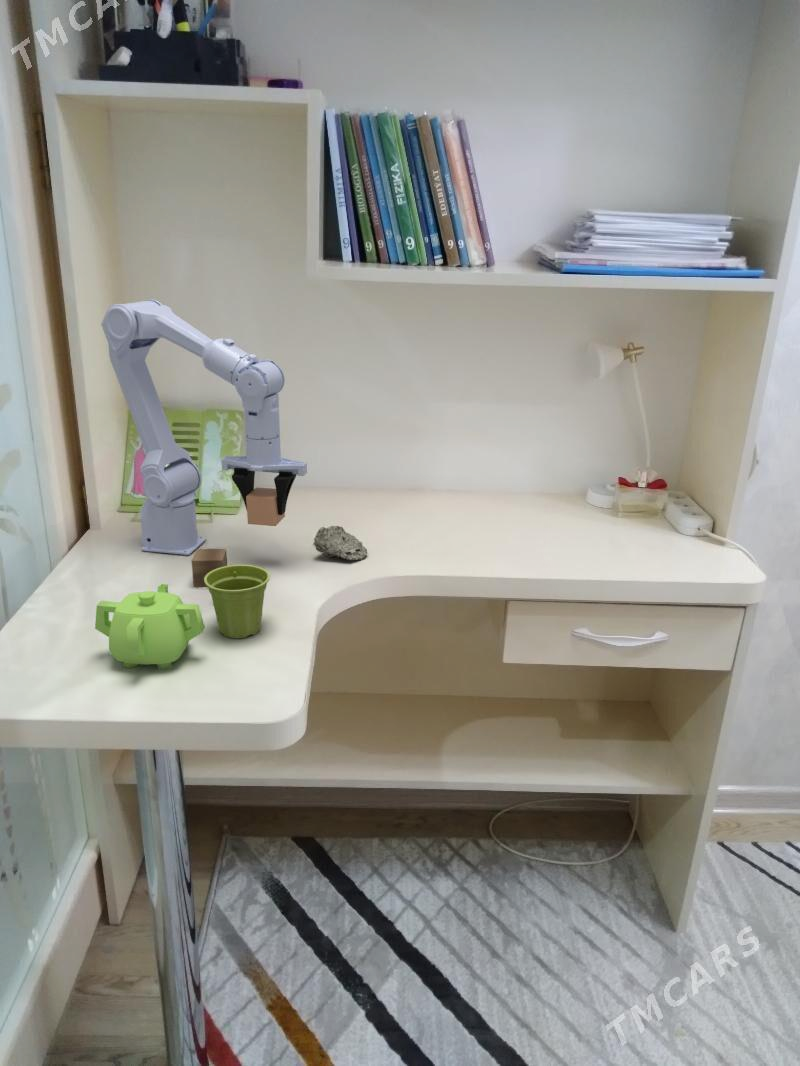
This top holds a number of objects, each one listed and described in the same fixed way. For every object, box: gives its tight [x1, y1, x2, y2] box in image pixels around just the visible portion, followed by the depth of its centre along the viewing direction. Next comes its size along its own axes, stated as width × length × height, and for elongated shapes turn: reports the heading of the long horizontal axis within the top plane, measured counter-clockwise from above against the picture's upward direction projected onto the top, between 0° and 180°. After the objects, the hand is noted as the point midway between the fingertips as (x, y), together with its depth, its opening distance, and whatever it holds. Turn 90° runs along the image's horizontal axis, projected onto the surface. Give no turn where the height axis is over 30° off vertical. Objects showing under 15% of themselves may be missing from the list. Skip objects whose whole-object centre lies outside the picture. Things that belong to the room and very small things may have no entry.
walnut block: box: [191, 548, 228, 589], centre depth 138 cm, size 5×5×5 cm
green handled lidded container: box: [94, 583, 206, 670], centre depth 114 cm, size 12×11×10 cm
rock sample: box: [312, 525, 368, 561], centre depth 150 cm, size 10×8×9 cm
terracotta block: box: [246, 486, 286, 527], centre depth 142 cm, size 5×5×5 cm
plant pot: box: [204, 564, 271, 639], centre depth 122 cm, size 9×9×9 cm
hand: (266, 511), depth 143 cm, fingers closed on terracotta block, 5 cm apart
